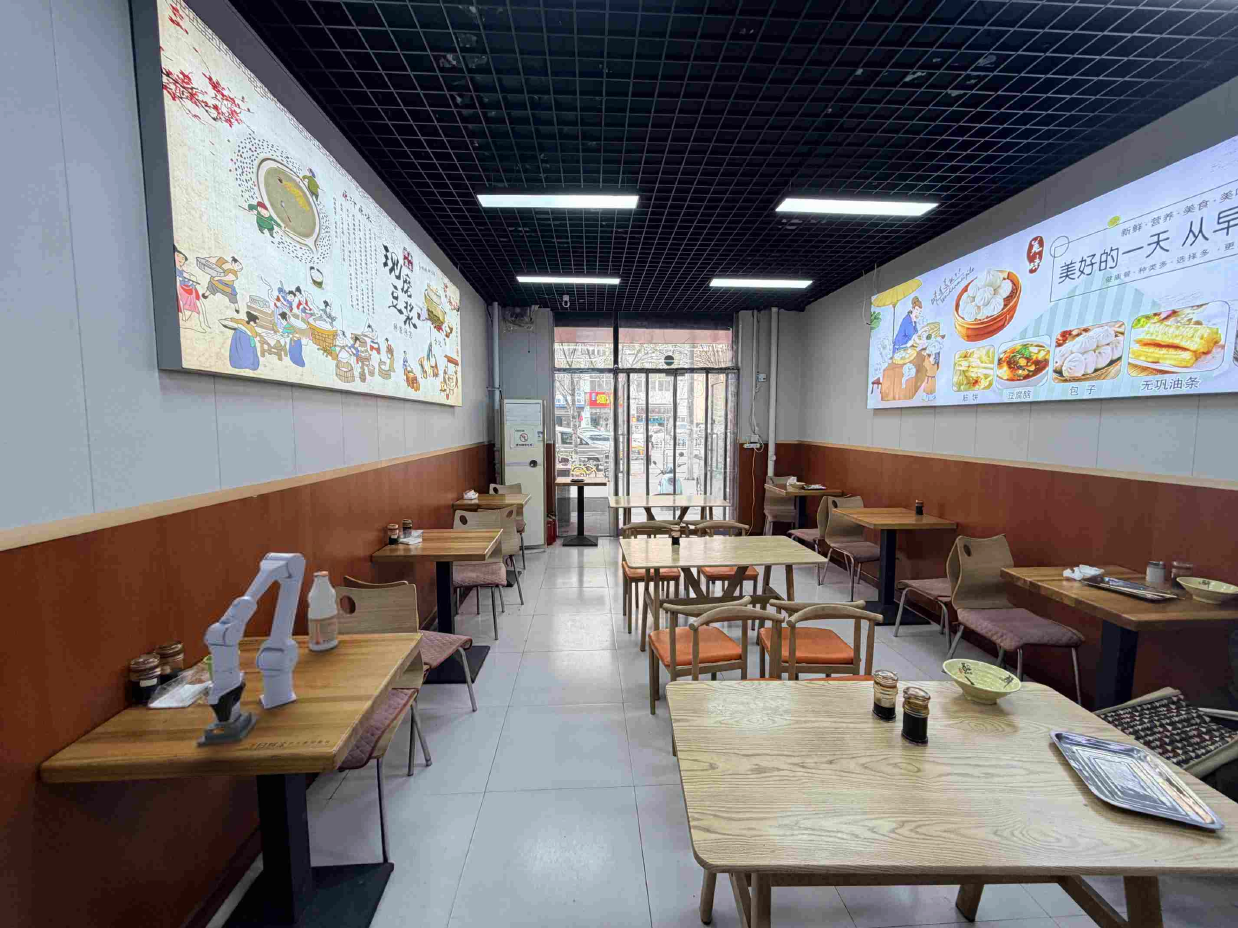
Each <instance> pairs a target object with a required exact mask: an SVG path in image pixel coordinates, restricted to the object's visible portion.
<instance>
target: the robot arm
mask: <svg viewBox="0 0 1238 928" xmlns="http://www.w3.org/2000/svg"><path fill="white" fill-rule="evenodd" d="M306 563H307V561H306V559H305V558H304V556H303V555H302V554H301V553H299V552H297V553H285V552H283V553H282V552H280V553H279V552H278V553H277V552H268V553H267V554H266V555H265V556H264V558H263V559H262V560H261V561H260V562H259V572H258V574H257V575H256V577H255V578H254V580H253V581H252V583H251V584H250V586H249V587H248V589H247V590H246V592H245V594H244V595H243V596H241V597H238V598H235V600H233V602H232V603H231V605H230V606H229V608H227V610H226V611H225V613H224V614H223V615H222V617H221V618H220V620H219V621H218V622H215V623H214V624H212V625H211V626H209V627H208V628H207V630H206V632H205V636H204V637H203V640H204V643H205V644H206V645H207V646H208V651H209V652H211V653H210V655H211V658H212V676H213V683H212V682H211V684H209V685H208V686H207V689H208V690H210V693H209V695H208V696H207V697H206V698H207V699H206V703H207V705H208V706H209V707H210V708H211V709H212V710H213V712H214V714H216V716H215V718H216V717H217V719H218V721H219V723H220V722H228V721H229V718H230V708H231V703H232V701H237V700H240V701H241V698H242V695H243V693H244V690H245V688H246V686H247V683H246V682H245V681H242V680H243V679H245V670H240V657H239V656H240V654H239V653H238V650H239V642H240V641H241V640H242V639H243V637H244V632H245V628H246V624H247V623H248V621H249V620H250V618H251V617H252V616H253V615H254V613H255V611H256V610H257V609H258V603H257V602H258V600H259V599H260V597H261V596H263V594H264V593H265V592H266V591H267V589H269V587H270V586H271V585H272V584H273V582H274V581H277V582H278V583H279V584H280V586H279V587H280V588H279V593H278V598H277V603H276V606H275V607H276V608H275V611H274V612H275V613H274V616H273V621H272V626H271V632H270V636H269V638H268V639H267V640H265V641H264V642H262V643H261V645H260V649H259V651H258V653H257V654H256V656H255V662H254V663H255V664H254V665H255V668H256V669H257V670H259V671H260V674H261V675H262V681H263V682H262V683H263V685H262V686H263V694H261V695H260V696H259V698H260V701H261V703H262V705H263V708H264V709H266V710H267V709H270V708H274V707H278V706H280V705H283V704H287V703H290V702H293V701H296V700H297V699H298V698H297V695H295V693H294V690H293V669H295V667H296V665H297V663H298V661H299V654H298V649H299V648H298V647H299V644H297V642H296V641H295V640H293V638H292V634H293V629H294V625H295V624H294V623H295V618H296V614H297V608H298V605H299V598H300V593H301V588H302V587H301V586H302V583H303V579H304V573H305V570H306V569H305V568H306Z"/></svg>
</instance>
